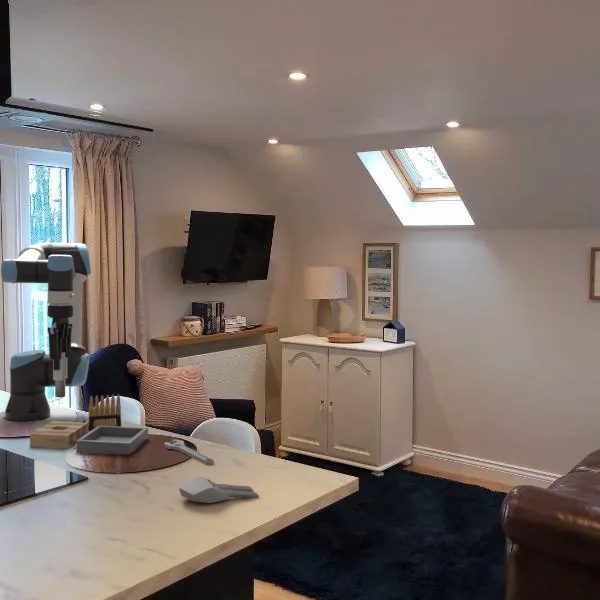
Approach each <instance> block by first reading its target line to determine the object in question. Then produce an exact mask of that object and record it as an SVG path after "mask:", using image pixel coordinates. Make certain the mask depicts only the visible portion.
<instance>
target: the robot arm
mask: <svg viewBox="0 0 600 600" xmlns="http://www.w3.org/2000/svg"><path fill="white" fill-rule="evenodd" d="M91 274H92V269H91V261H90V253H89V248H88V245H87V244H85V243H78V242H77V243H76V242H39V243H35V244H32V245H29V246H27V247H25V248H23V249H21V251H20V252H19V254H18V257H17V258H16V259H15V258H14V259H13V258H9V259H8V258H7V259H3V260H2V261H1V267H0V275H1V280H2V282H3V283H9V284H47V304H48V305H47V317H48V318H50V319H51V318H52V320H51V326H50V327H49V326H48V327H47V333H48V351H49V352H48V354H47V353H46V351H45V350H43V349H33V350H26V351H22V352H18V353H14V354H13V355H12V356H11V357H10V363H9V365H10V366H9V370H10V372H9V373H10V374H9V375H10V376H9V377H10V382H9V383H10V384H9V385H10V389H9V390H10V396H9V398H8V402H7V404H6V406H5V407H6V408H5V410H4V418H5V419H7V420H9V421H16V422H29V421H37V420H38V421H40V420H43V419H47V418H48V417H50V416H51V407H50V404H49V401H48V399H47V396H46V388H50V387H51V388H55V380H61V381H62V380H63V359H61V353H62V352H65V387H70V388H72V387H81V386H84V385H85V383H86V382H87V378H88V372H89V365H90V354H89V353H86V348H85V347H84V346H83V345H82V337H83V336H82V335H83V334H82V333H83V332H82V331H83V329H82V328H83V327H82V326H83V285H84V282H85V281H86V280H87V278H88V276H90V275H91Z"/></svg>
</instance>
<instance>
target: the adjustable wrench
mask: <svg viewBox="0 0 600 600" xmlns="http://www.w3.org/2000/svg"><path fill="white" fill-rule="evenodd" d="M171 443H173V444H171ZM164 446H165V447H166V448H167V449H174V450H173V451H177V450H179V451H178V452H180V451H181V453H182V452H183V454H184V453H186V454H187V455H186V454H185V455H186V456H188V455H189V456H188V457H190V456H191V457H190V458H192V459H193V460H196V461H198V462H200V463H202V464H204V465H206V466H211V465H214V461H215V460H214V458H211V457H210V456H207V455H205V454H203V453H201V452H199V451H197V450H194V449H192V448H190V447H188V446H186V444H185V441H184V440H181V439H171V441H170V442H167V441H164ZM164 446H163V447H164ZM165 447H164V448H165ZM166 448H165V449H166ZM167 449H166V450H167Z"/></svg>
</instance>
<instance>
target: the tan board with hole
mask: <svg viewBox="0 0 600 600" xmlns="http://www.w3.org/2000/svg"><path fill="white" fill-rule="evenodd" d="M88 432H89V431H88V422H82V421H81V422H80V421H79V422H78V421H60V420H59V421H57V420H52V421H50V422H48V423H47V424H45V425H43V426H41V427H39V428H38V429H36V430H34V431H33V432H31V433H30V434H29V447H30V448H31V447H32V448H50V449H66V450H67V449H70V448H71V447H73V446H74V445H76V441H77V440H78V439H80V438H81V437H82V436H84V435H85V434H87V433H88Z"/></svg>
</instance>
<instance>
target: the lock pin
mask: <svg viewBox="0 0 600 600" xmlns="http://www.w3.org/2000/svg"><path fill="white" fill-rule="evenodd" d="M61 359H63V380H62V381H61V380H55V387H54V392H55V393H54V397H55V398H65V397H66V386H65V352H62V353H61Z"/></svg>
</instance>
